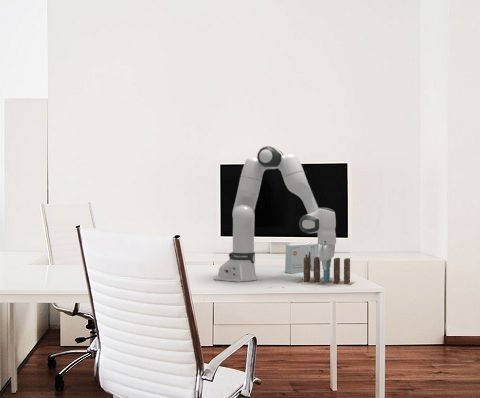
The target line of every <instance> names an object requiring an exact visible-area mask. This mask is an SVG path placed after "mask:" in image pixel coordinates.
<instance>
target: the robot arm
mask: <svg viewBox="0 0 480 398" xmlns="http://www.w3.org/2000/svg"><path fill="white" fill-rule="evenodd" d="M256 155H257V156H256V157H255V156H252V157H251V156H250V157H248V158H247V159H246V160H245V161H244V165H243V167H242V169H241V174H240V177H239V182H238V187H237V192H236V196H235V201H234V204H233V208H232V251H231V252H230V253H228V258H229V259H228V260H226V261H225V262H224V263H223V264H222V265H220V267H219V268H218V272H217V273H218V274H217V275H215V276H214V277H213V281H225V282H235V283H236V282H237V283H240V282H250V281H251V282H252V281H256V280H257V279H258V277H257V273H256V266H255V265H256V263H255V262H256V252H255V221H256V220H255V216H256V215H255V210H256V205H257V202H258V198H259V194H260V189H261V185H262V180H263V175H264V172H265V171H273V170H279V171H280V173H281V176H282V179H283V181H284V185H285V186H286V189H287V190H288V191H289V192H291V193H292V194H294V195H295V196H297V197H298V198H300V199H301V201H302V203H303V205H304V207H305V210H306V212H307V214H304V215H302V217H300V219H299V222H298V225H299V228H300V230H301V231H302V232H303V233H306V234H314V233H315V234H317V243H318V244H319V261H320V262H321V267H322V270H326V269H327V266H326V263H327V260H329V259H330V268H331V266H332V265H331V264H332V259H334V258H335V257H334V256H335V251H336V244H337V235H336V234H337V233H336V227H337V226H336V225H337V221H336V220H337V219H336V212H335V210H334V209H332V208H329V207H320V206H319V205H318V202H317V200H316V198H315V194H314V193H313V190H312V189H311V186H310V184H309V182H308V179H307V177H306V173H305V171H304V168H303V165H302V163H301V162H300V160H299V158H298V156H297V155H296V154H293V153H287V154H284V153H283V151H281V150H279V149H278V148H276V147H273V146H263V147H261V148H260V149H259V151H258V152H257V154H256Z"/></svg>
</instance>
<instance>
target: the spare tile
mask: <svg viewBox="0 0 480 398" xmlns="http://www.w3.org/2000/svg"><path fill="white" fill-rule="evenodd" d="M326 266H327V269H326V270H323V269H322V270H323V272H322V273H323V274H322V275H323V276H322V278H323V279H322V280H323V283H328V282H330V281H331V267H330V259H329V260H327V263H326Z"/></svg>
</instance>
